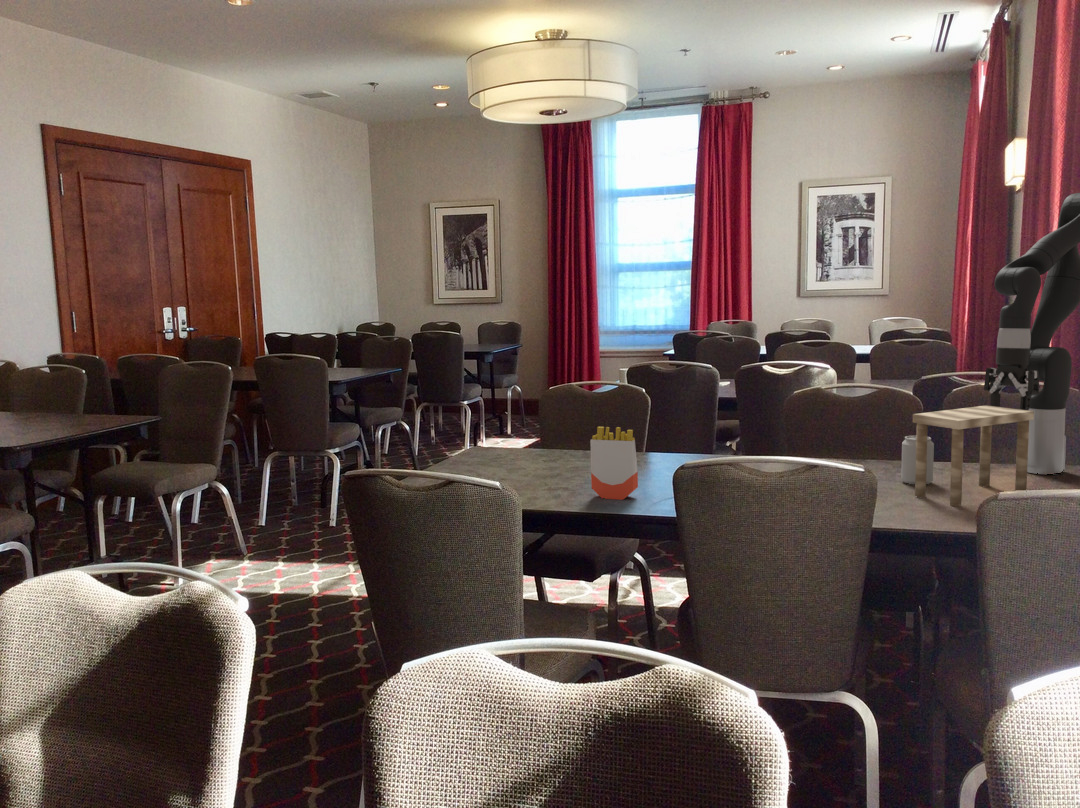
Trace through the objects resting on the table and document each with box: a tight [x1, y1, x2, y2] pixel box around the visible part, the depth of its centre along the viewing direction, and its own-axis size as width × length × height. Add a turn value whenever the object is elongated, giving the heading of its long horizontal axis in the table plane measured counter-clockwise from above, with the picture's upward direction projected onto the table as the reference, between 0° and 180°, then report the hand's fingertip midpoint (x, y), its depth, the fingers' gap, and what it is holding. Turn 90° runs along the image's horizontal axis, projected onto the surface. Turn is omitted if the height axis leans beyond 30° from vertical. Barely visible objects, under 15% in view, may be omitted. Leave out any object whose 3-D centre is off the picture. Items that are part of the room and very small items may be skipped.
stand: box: [912, 405, 1034, 508], centre depth 210 cm, size 25×13×20 cm, turn 115°
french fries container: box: [589, 426, 639, 500], centre depth 220 cm, size 5×11×18 cm, turn 68°
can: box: [900, 435, 935, 485], centre depth 225 cm, size 8×8×12 cm
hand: (1009, 409), depth 226 cm, fingers open, 8 cm apart
